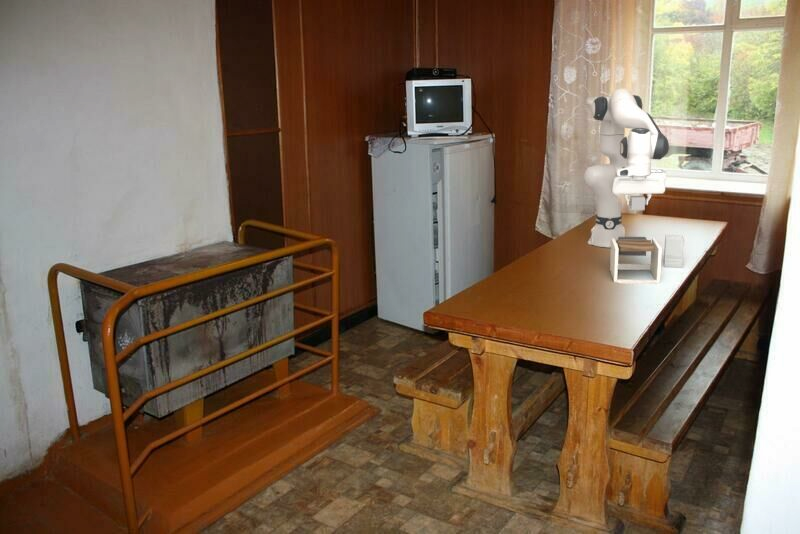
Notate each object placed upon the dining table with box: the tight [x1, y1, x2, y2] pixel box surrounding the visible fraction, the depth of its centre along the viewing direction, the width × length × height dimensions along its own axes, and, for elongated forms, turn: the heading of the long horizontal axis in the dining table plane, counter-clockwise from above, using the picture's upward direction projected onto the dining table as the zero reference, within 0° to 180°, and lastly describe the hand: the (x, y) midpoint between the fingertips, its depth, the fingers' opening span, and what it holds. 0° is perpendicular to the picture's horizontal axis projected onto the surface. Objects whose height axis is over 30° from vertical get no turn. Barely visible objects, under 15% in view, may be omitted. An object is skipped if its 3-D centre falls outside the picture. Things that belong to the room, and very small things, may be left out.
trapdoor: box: [616, 236, 655, 257], centre depth 288 cm, size 20×14×7 cm
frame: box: [609, 237, 663, 285], centre depth 286 cm, size 20×18×14 cm
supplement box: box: [663, 234, 685, 268], centre depth 299 cm, size 7×7×13 cm
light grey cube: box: [629, 195, 646, 211], centre depth 278 cm, size 5×5×5 cm
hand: (637, 204), depth 278 cm, fingers closed on light grey cube, 5 cm apart
